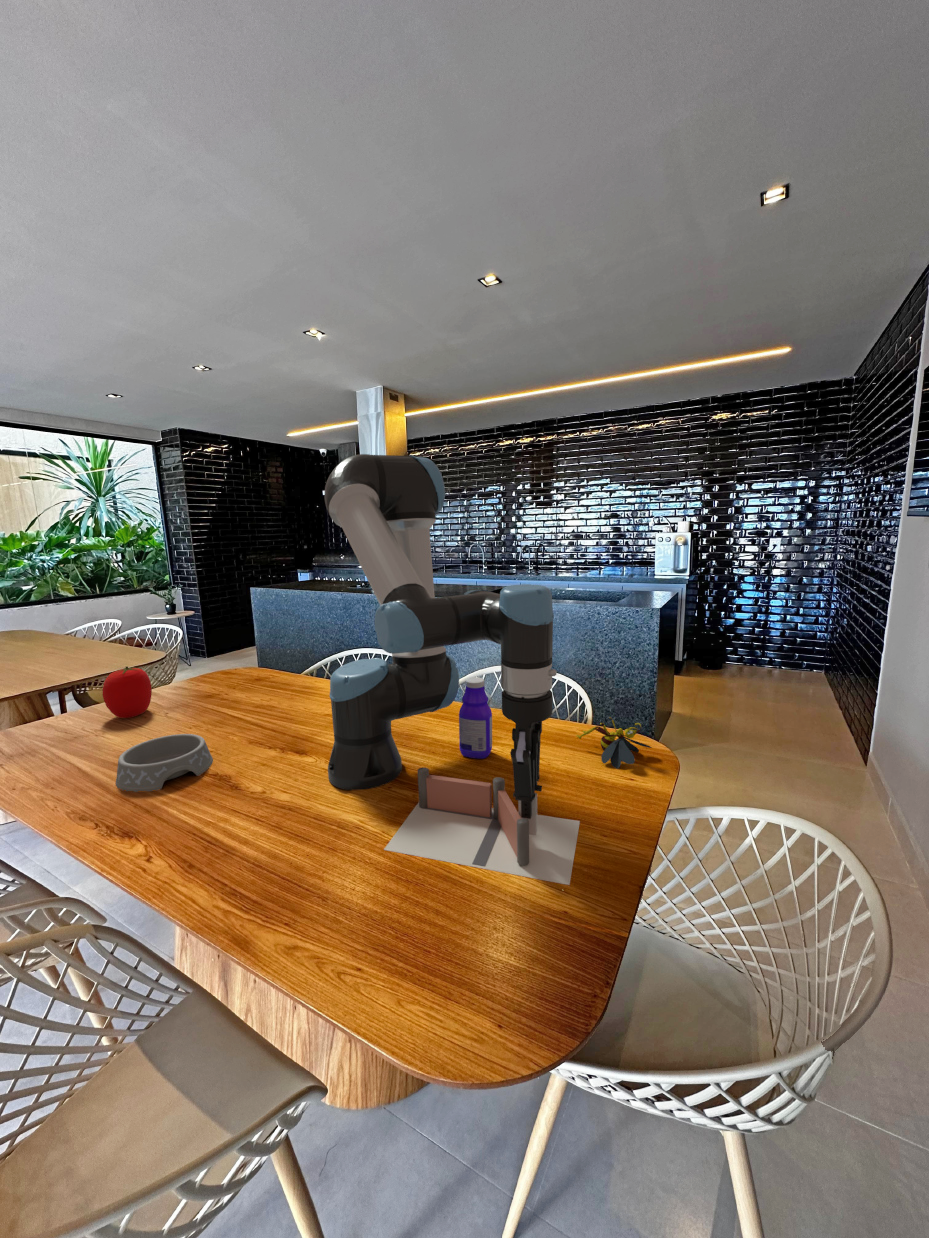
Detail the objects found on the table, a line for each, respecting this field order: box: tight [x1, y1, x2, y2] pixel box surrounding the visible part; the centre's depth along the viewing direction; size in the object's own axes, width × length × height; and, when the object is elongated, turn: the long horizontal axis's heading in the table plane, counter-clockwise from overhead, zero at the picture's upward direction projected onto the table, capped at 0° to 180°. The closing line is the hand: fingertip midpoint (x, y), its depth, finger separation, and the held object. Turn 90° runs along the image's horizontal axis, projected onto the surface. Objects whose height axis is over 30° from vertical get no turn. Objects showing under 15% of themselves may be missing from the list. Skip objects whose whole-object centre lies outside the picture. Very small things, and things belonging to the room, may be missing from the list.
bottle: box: [458, 676, 493, 760], centre depth 111 cm, size 7×6×17 cm
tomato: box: [102, 665, 153, 719], centre depth 141 cm, size 13×11×14 cm
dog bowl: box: [115, 733, 214, 793], centre depth 109 cm, size 17×18×5 cm
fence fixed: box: [417, 766, 506, 820], centre depth 90 cm, size 16×2×7 cm, turn 72°
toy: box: [575, 716, 653, 770], centre depth 110 cm, size 12×8×15 cm
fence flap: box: [498, 789, 529, 866], centre depth 80 cm, size 12×2×7 cm, turn 13°
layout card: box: [383, 802, 581, 886], centre depth 83 cm, size 29×16×1 cm, turn 72°
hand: (528, 831), depth 80 cm, fingers closed
